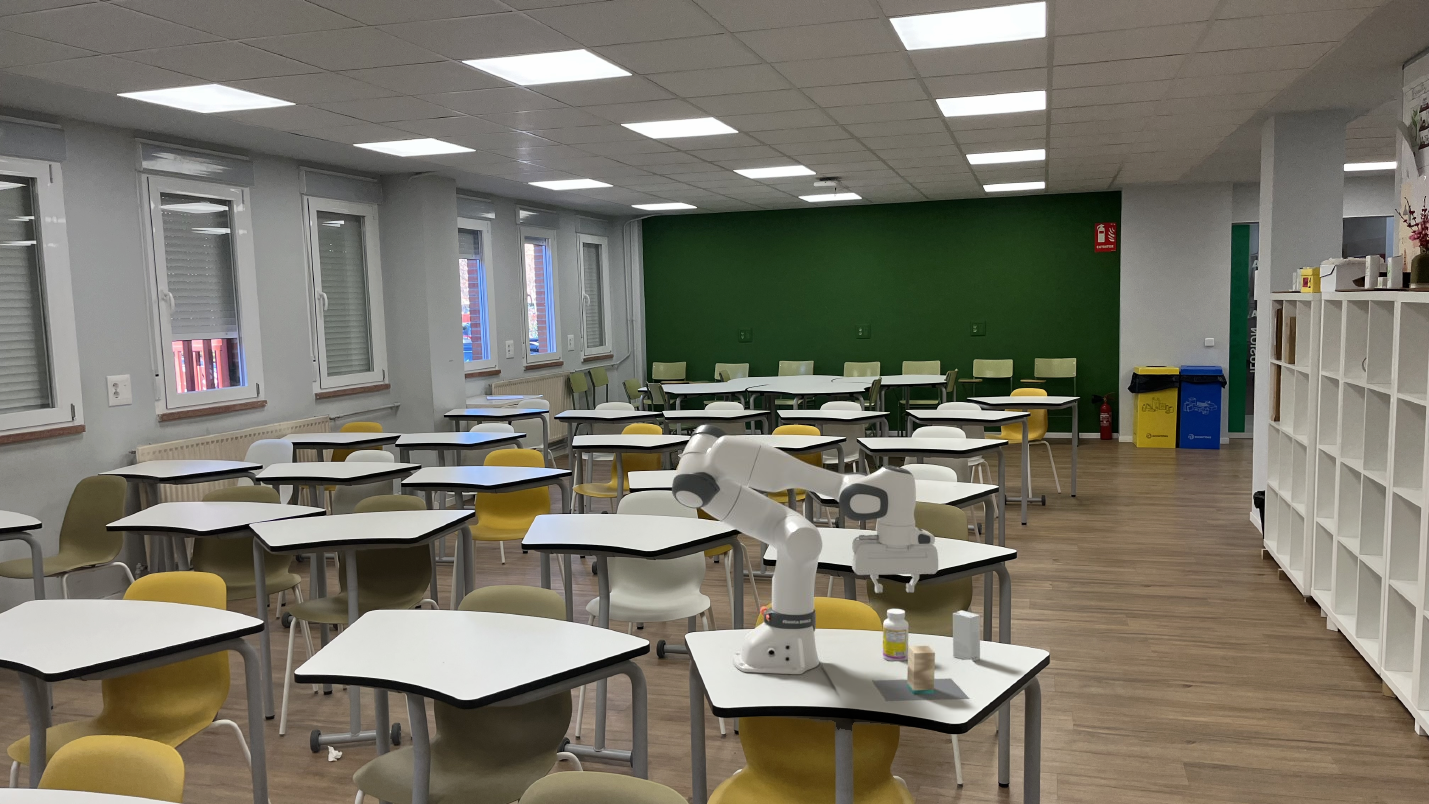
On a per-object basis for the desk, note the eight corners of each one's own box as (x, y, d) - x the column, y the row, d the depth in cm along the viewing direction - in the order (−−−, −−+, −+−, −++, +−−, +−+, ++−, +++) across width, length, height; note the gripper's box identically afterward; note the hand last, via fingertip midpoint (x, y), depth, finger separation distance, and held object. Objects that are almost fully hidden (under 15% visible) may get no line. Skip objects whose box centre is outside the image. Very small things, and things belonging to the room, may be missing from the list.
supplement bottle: (889, 652, 262) (890, 605, 260) (911, 657, 258) (913, 610, 257) (878, 659, 256) (879, 611, 255) (901, 664, 252) (902, 616, 251)
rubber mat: (886, 705, 225) (886, 700, 225) (872, 684, 238) (872, 680, 238) (969, 702, 227) (969, 698, 227) (950, 682, 240) (950, 678, 240)
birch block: (913, 694, 229) (914, 653, 228) (907, 686, 234) (908, 646, 233) (933, 693, 230) (935, 652, 229) (927, 685, 235) (928, 645, 234)
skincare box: (980, 659, 257) (982, 614, 256) (970, 663, 254) (971, 617, 253) (961, 653, 261) (962, 609, 261) (951, 656, 259) (952, 612, 258)
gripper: (855, 538, 224) (854, 596, 225) (941, 537, 226) (939, 595, 227) (849, 532, 230) (848, 589, 231) (933, 531, 232) (931, 587, 233)
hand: (894, 592), depth 229 cm, fingers open, 6 cm apart
